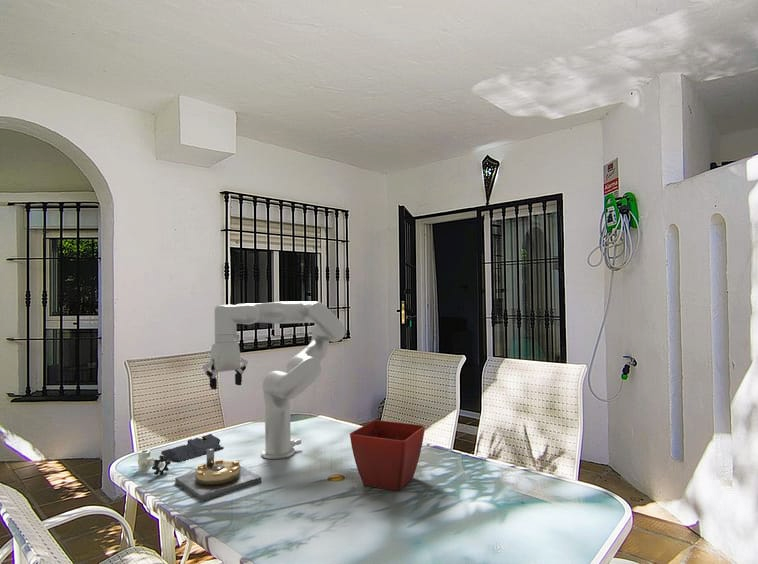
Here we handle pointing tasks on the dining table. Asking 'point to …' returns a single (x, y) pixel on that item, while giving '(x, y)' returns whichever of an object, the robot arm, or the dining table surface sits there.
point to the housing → (212, 491)
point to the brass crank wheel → (217, 471)
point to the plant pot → (387, 453)
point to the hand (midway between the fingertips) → (226, 386)
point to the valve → (152, 462)
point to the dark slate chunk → (193, 448)
